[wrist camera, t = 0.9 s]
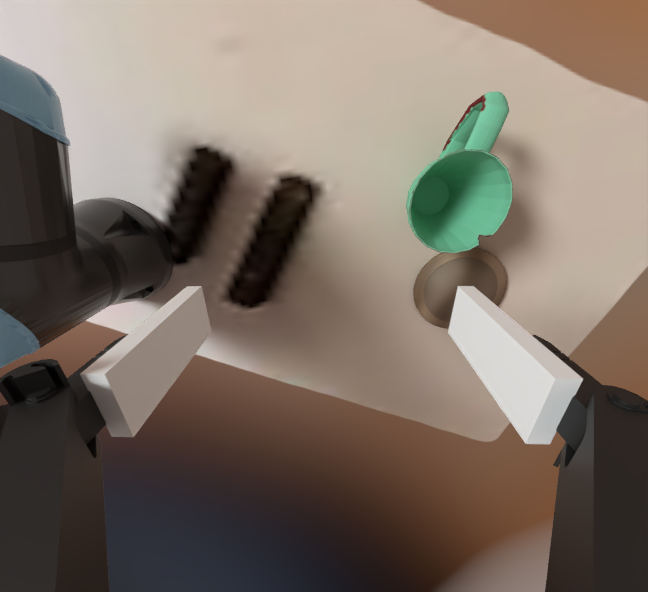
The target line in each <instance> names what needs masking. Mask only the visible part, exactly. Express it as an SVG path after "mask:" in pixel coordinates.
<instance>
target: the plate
mask: <svg viewBox="0 0 648 592" xmlns="http://www.w3.org/2000/svg"><path fill="white" fill-rule="evenodd" d="M458 286H474V287H475V288H476V289H477V290H479V291H480V292H481V293H482V294H483V295H485V296H486V297H487V298H488V299H489V300H490V301H492V302H493V303H494V304H495V305H496V306H498V305H499V303H500V302H501V300H502V298H503V296H504V293H505V290H506V273H505V270H504V268H503V266H502V264H501V263H500V261H499V260H498V259H497V258H496V257H494V256H493V255H492V254H490V253H488V252H486V251H484V250H482V249H479V248H472V249H471V250H468V251H463V252H458V253H443V252H442V253H440V254H439V255H437V256H435V257H434V258H433V259H431V260H430V261H429V262H428V263H427V264H426V265H425V266H424V267H423V269H422V270H421V271H420V273H419V275H418V277H417V279H416V282H415V285H414V301H415V305H416V307H417V309H418V311H419V312H420V314H421V315H422V316H423V317H424V318H425V319H426V320H427V321H428V322H430V323H431V324H433V325H436V326H438V327H442V328H449V325H450V320H451V316H452V311H453V306H454V302H455V297H456V293H457V288H458Z"/></svg>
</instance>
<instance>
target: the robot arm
mask: <svg viewBox="0 0 648 592" xmlns="http://www.w3.org/2000/svg"><path fill="white" fill-rule="evenodd" d="M68 146H70V142H69V139H68V138H67V137H66V133H65V127H64V122H63V116H62V109H61V103H60V100H59V97H58V95H57V94H56V92H55V90H54V89H53V88H52V86H51V85H50V84H49V83H48V82H47V81H46V80H45V79H44V78H42V77H41V76H40V75H38V74H37V73H35V72H34V71H32V70H30V69H29V68H27V67H25V66H23V65H21V64H18V63H16V62H14V61H12V60H10V59H8V58H6V57H4V56H1V55H0V368H1V367H3V366H5V365H7V364H9V363H11V362H13V361H14V360H17V359H19V358H20V357H22V356H24V355H26V354H31V353H33V352H35V351H37V350H38V349H39V348H41V347H42V346H44V345H46V344H47V343H49V342H51V341H52V340H54V339H55V338H57V337H59V336H60V335H62V334H64V333H65V332H67V331H68V330H70V329H71V328H73V327H75V326H76V325H78V324H80V323H82V322H83V321H85V320H86V319H88V318H90V317H91V316H93V315H95V314H96V313H98V312H100V311H101V310H103V309H104V308H106V307H108V306H110V305H115V304H120V303H125V302H131V301H136V300H141V299H144V298H146V297H149V296H151V295H152V294H154V293H155V292H157V291H158V290H160V289H161V288H162V287H163V286H164V285H165V284H166V283H167V282H168V280H169V278H170V276H171V273H172V269H173V256H172V251H171V247H170V244H169V242H168V240H167V238H166V236H165V234H164V232H163V231H162V229H161V228H160V227H159V225H158V224H157V223H156V222H155V221H154V220H153V219H152V218H151V217H150V216H149V215H148V214H147V213H145V212H144V211H143V210H141V209H140V208H138V207H136V206H135V205H133V204H131V203H128V202H126V201H123V200H120V199H115V198H98V199H90V200H85V201H82V202H79V203H76V204H75V205H73V198H72V188H71V177H70V165H69V154H68ZM211 332H212V330H211V326H210V321H209V317H208V312H207V308H206V303H205V299H204V295H203V290H202V286H187V287H186V288H184V289H183V290H182V291H181V292H180V293H178V294H177V295H176V296H175V297H173V298H172V299H171V300H170V301H168V302H167V303H166V304H165V305H164V306H162V307H161V308H160V309H159V310H157V311H156V312H155V313H154V314H153V315H151V316H150V317H149V318H148V319H146V320H145V321H144V322H143V323H142V324H140V325H139V326H138V327H137V328H135V329H134V330H133V331H132V332H131V333H129V334H127V335H125V336H123V337H121V338H119V339H117V340H115V341H114V342H113V343H111V344H110V345H109V346H107V347H106V348H105V349H104V351H101V352H100V353H99V354H97V355H96V357H95V358H92V359H91V360H90V361H89V362H87V363H86V364H85V365H84V366H82V367H81V368H80V369H78V370H77V371H76V372H75V373H73V374H72V375H71V376H70V377H69V378H66V376H65V374H64V372H63V371H62V369H61V367H60V365H59V363H58V361H56V360H53V359H47V360H40V361H35V362H31V363H28V364H26V365H23V366H20V367H18V368H16V369H14V370H12V371H10V372H8V373H7V374H5V375H4V376H3V377H1V378H0V392H1V393H2V395H3V396H4V398H5V399H6V401H7V402H8V404H7V405H2V406H0V592H109V579H108V564H107V563H108V561H107V544H106V525H105V507H104V490H103V473H102V454H101V441H100V439H99V437H98V435H97V434H98V432H99V431H100V430H101V429H102V428H103V427H104V426H105V425H106V426H107V428H108V430H109V432H110V434H111V436H112V437H134V436H135V434H136V433H137V432H138V430H139V429H140V428H141V426H142V425H143V424H144V422H145V421H146V419H147V418H148V417H149V416H150V414H151V413H152V411H153V410H154V409H155V407H156V406H157V405H158V403H159V402H160V401H161V399H162V398H163V397H164V395H165V394H166V392H167V391H168V390H169V388H170V387H171V386H172V384H173V383H174V381H175V380H176V379H177V378H178V376H179V375H180V373H181V372H182V371H183V369H184V368H185V367H186V365H187V364H188V363H189V361H190V360H191V359H192V357H193V356H194V355H195V353H196V352H197V351H198V349H199V348H200V346H201V345H202V344H203V342H204V341H205V340H206V338H207V337H208V336H209V334H210V333H211ZM448 333H449V335H450V336H451V337H452V339H453V340H454V342H455V343H456V345H457V346H458V347H459V349H460V350H461V352H462V353H463V355H464V356H465V357H466V359H467V360H468V362H469V363H470V365H471V366H472V367H473V369H474V370H475V372H476V373H477V375H478V376H479V377H480V379H481V380H482V382H483V383H484V385H485V386H486V387H487V389H488V390H489V392H490V393H491V395H492V396H493V398H494V399H495V400H496V402H497V403H498V405H499V406H500V408H501V409H502V410H503V412H504V413H505V415H506V416H507V418H508V419H509V420H510V422H511V423H512V424H513V426H514V428H515V429H516V430H517V432H518V433H519V435H520V436H521V438H522V439H523V440H524V442H525V443H526V444H550V443H551V441H552V439H553V437H554V435H555V433H556V431H557V432H558V433H559V434H560V435H561V436H562V437H563V439H564V440H565V441H566V443H565V444H564V447H563V448H562V450H561V452H560V454H559V455H558V457H557V459H556V461H555V463H554V466H556V467H558V466H559V464H560V468H559V469H560V470H559V477H558V486H557V495H556V503H555V512H554V520H553V529H552V537H551V547H550V555H549V563H548V573H547V580H546V589H545V592H648V401H647V400H645V399H644V398H642V397H640V396H639V395H637V394H635V393H632V392H630V391H627V390H625V389H622V388H618V387H614V386H606V385H601V384H600V383H599V382H598V381H597V380H595V379H594V378H593V377H592V376H591V375H589V374H588V373H587V372H586V371H584V370H583V369H582V368H581V367H579V366H578V365H577V364H576V363H574V362H573V361H570V359H569V358H568V357H567V356H566V355H565V354H563V353H561V351H560V350H558V349H557V348H556V347H555V346H553V345H552V344H551V343H550V342H548V341H546V340H544V339H542V338H540V337H538V336H536V335H531V334H530V333H528V332H527V331H526V330H525V329H524V328H522V327H521V326H520V325H519V324H518V323H517V322H515V321H514V320H513V319H512V318H511V317H509V316H508V315H507V314H506V313H505V312H504V311H502V310H501V309H500V308H499V307H498V306H496V305H495V304H494V303H493V302H492V301H490V300H489V299H488V298H487V297H486V296H485V295H483V294H482V293H481V292H480V291H479V290H477V289H476V288H475V287H474V286H458V288H457V293H456V297H455V302H454V306H453V311H452V316H451V320H450V325H449V330H448Z"/></svg>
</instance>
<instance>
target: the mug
mask: <svg viewBox="0 0 648 592" xmlns="http://www.w3.org/2000/svg"><path fill="white" fill-rule="evenodd" d="M508 112H509V107H508V103H507V100H506V98H505V96H504V95H503V93H501V92H489V93H487V94H484V95H483V96H481V97H480V98H479V99H477V100H476V101H475V102H473V103H472V104H471V105H470V106H469V107H468V109H467V110H466V112H465V113H464V115H463V117H462V118H461V120H460V121H459V123H458V124H457V126H456V128H455V129H454V131H453V132H452V134H451V135H450V137H449V138H448V140H447V142H446V145H445V147H444V149H443V151H442V153H441V155H440V157H439V158H438V159H437V160H435V161H434V162H432V163H431V164H429V165H428V166H427V167H426V168H425V169H424V170H423V171H422V172H421V173H420V174H419V176H418V177H417V178H416V179H415V180H414V182H413V184H412V186H411V188H410V190H409V192H408V198H407V203H406V207H407V214H408V221H409V224H410V226H411V228H412V230H413V232H414V234H415V236H416V237H417V238H418V239H419V240H420V241H421V242H422V243H423V244H424V245H426V246H427V247H429V248H431V249H433V250H436V251H438V252H443V253H458V252H463V251H468V250H471V249H472V248H474V247H476V246H478V245H479V244H480V241H479V240H478V238H479V236H486V237H487V236H492V235H493V234H494V233H495V232H497V230H498V229H499V227H500V226H501V224H502V223H503V221H504V220H505V218H506V217H507V214H508V211H509V208H510V205H511V202H512V187H513V184H512V181H511V178H510V175H509V172H508V169H507V168H506V166H505V165H504V164H503V163H502V162H501V161H500V160H499V158H498V157H496V156H494V155H492V154H490V153H489V152H490V150H491V148H492V146H493V144H494V142H495V141H496V139H497V137H498V135H499V133H500V131H501V129H502V126H503V124H504V122H505V119H506V117H507V115H508Z"/></svg>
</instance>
